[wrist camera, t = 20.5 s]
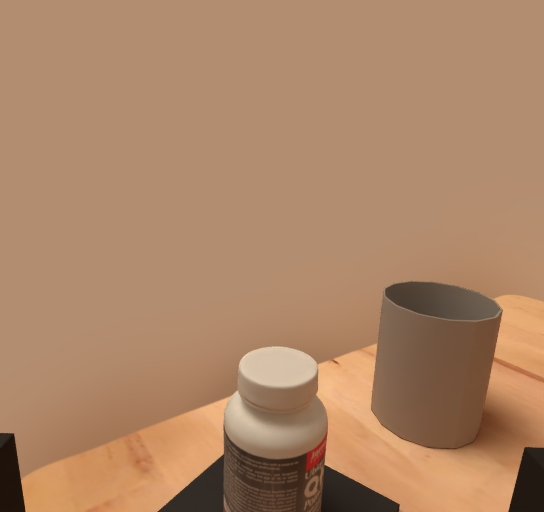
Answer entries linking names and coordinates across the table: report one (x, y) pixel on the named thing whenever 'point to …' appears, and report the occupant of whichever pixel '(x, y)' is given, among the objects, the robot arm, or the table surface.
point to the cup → (434, 362)
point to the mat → (334, 504)
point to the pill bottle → (275, 434)
